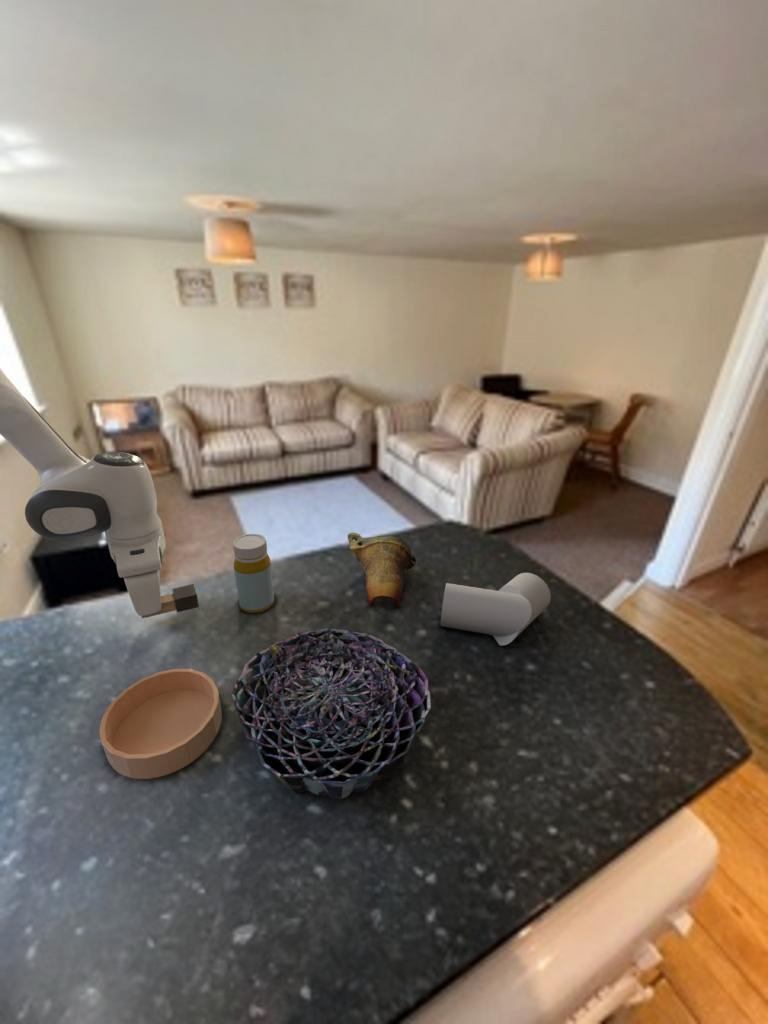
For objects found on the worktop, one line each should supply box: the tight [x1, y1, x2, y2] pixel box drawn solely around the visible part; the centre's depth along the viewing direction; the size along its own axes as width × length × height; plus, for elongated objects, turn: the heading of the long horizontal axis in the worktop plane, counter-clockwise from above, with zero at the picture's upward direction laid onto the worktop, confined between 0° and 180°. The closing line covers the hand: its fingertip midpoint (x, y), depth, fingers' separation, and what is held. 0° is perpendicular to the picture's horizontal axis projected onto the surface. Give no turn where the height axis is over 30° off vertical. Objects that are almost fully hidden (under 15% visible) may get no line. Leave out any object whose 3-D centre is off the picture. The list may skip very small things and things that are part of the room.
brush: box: [140, 583, 200, 619], centre depth 87 cm, size 10×4×3 cm, turn 118°
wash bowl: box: [98, 668, 223, 780], centre depth 64 cm, size 15×15×4 cm
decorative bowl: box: [231, 627, 432, 800], centre depth 64 cm, size 26×28×10 cm
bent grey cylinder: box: [440, 572, 552, 646], centre depth 87 cm, size 18×11×20 cm
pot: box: [347, 532, 418, 608], centre depth 98 cm, size 17×11×18 cm
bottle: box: [232, 533, 275, 614], centre depth 89 cm, size 7×7×15 cm
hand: (151, 605), depth 85 cm, fingers closed on brush, 2 cm apart
